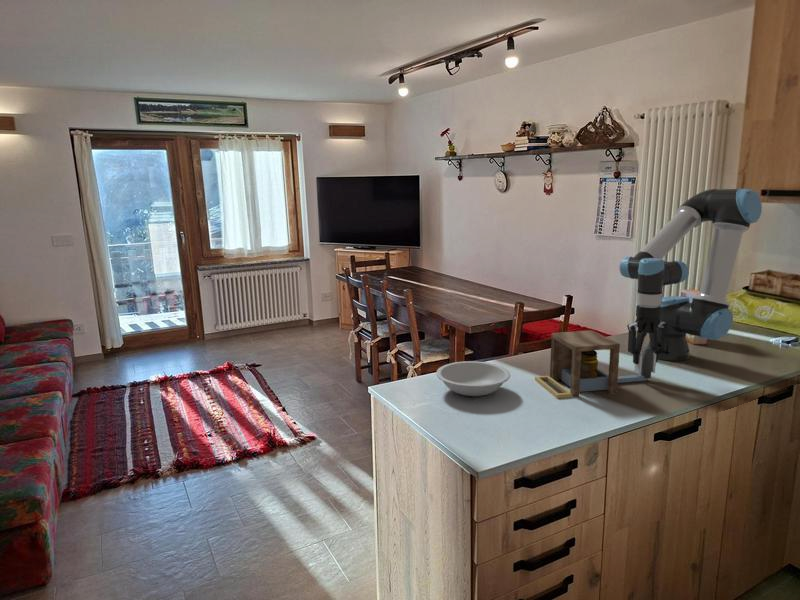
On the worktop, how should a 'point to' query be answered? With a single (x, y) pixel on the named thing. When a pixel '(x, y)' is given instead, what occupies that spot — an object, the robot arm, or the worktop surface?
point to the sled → (602, 377)
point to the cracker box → (690, 295)
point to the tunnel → (569, 356)
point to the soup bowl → (473, 377)
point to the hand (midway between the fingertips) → (644, 371)
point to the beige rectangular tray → (553, 387)
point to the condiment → (588, 364)
